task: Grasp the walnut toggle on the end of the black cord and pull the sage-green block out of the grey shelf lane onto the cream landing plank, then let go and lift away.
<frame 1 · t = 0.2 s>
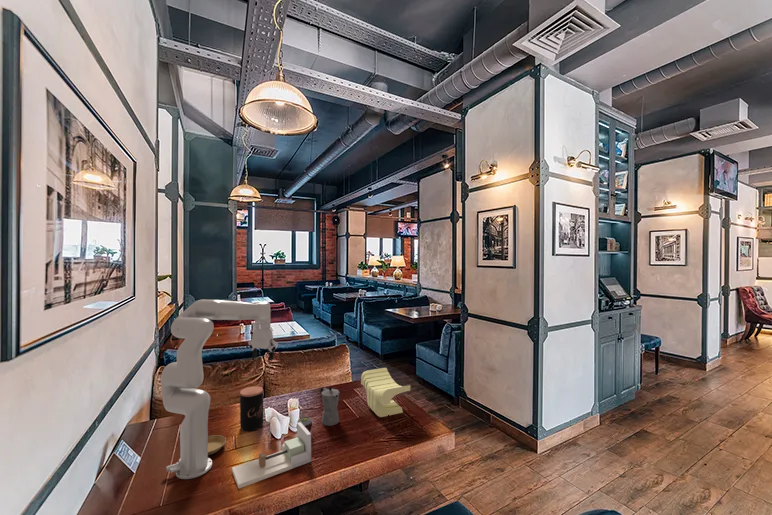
hand: (263, 358, 177), 31 cm above the table, tool pointing down, fingers open, 9 cm apart
plant saucer: (207, 450, 147), on the table, touching arm
cord block: (281, 453, 138), point 4 cm above the table, slide at 0.0 cm
mate gourd: (304, 436, 158), on the table
coffee jar: (251, 426, 167), on the table
coffeepot: (329, 421, 173), on the table
slatted curved stool: (384, 410, 185), on the table
shelf lane: (272, 466, 136), on the table
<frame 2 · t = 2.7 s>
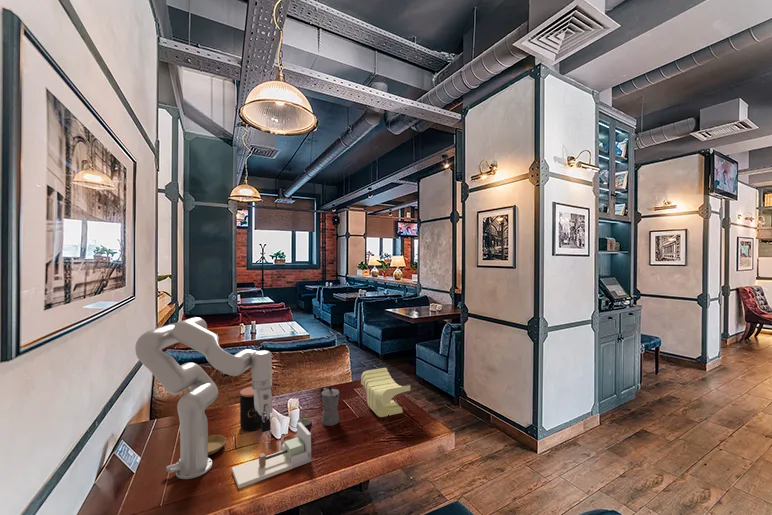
hand: (262, 425, 133), 18 cm above the table, tool pointing down, fingers open, 9 cm apart
nothing on the table moved.
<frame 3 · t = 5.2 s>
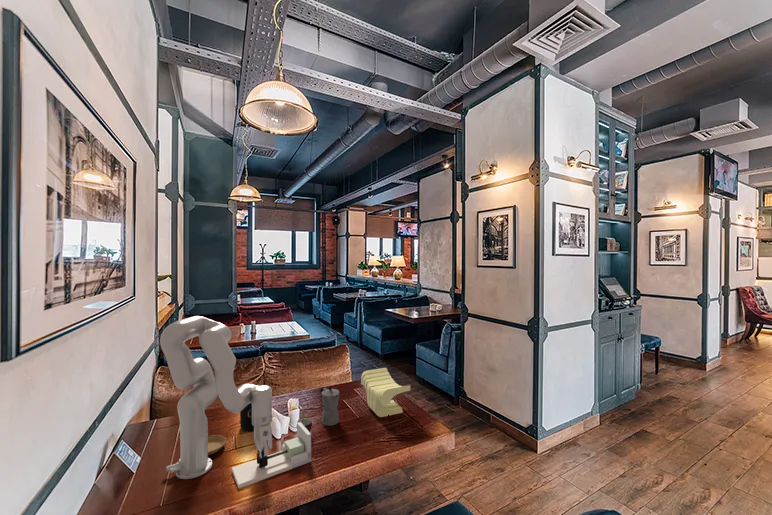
hand: (262, 464, 133), 2 cm above the table, tool pointing down, fingers closed on cord block, 2 cm apart
cord block: (281, 453, 138), point 4 cm above the table, slide at 0.0 cm, touching gripper
everything else where it was.
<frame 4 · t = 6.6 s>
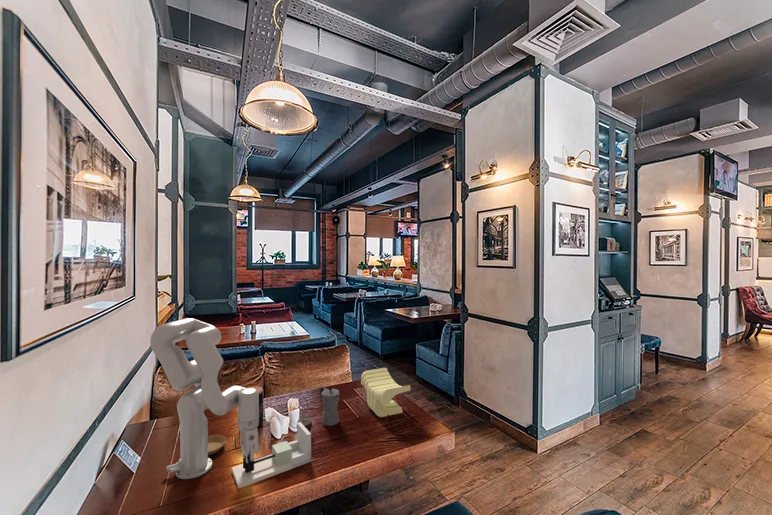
hand: (248, 468, 130), 2 cm above the table, tool pointing down, fingers closed on cord block, 2 cm apart
cord block: (268, 457, 135), point 4 cm above the table, slide at 5.2 cm, touching gripper
everything else where it was.
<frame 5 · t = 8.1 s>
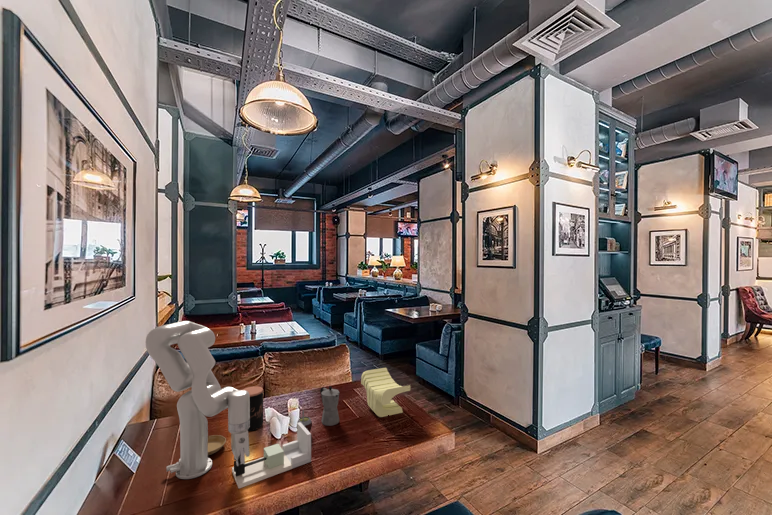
hand: (239, 472, 129), 2 cm above the table, tool pointing down, fingers closed on cord block, 2 cm apart
cord block: (259, 460, 133), point 4 cm above the table, slide at 8.5 cm, touching gripper
everything else where it was.
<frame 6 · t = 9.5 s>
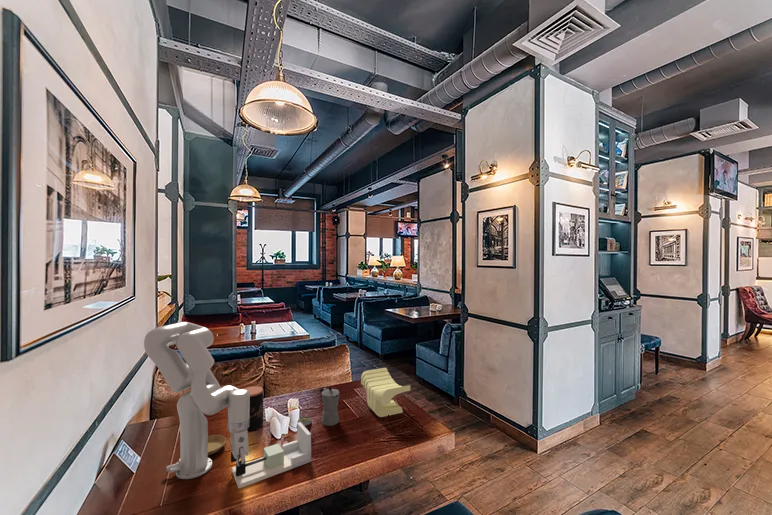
hand: (238, 467, 129), 4 cm above the table, tool pointing down, fingers open, 9 cm apart
cord block: (259, 460, 133), point 4 cm above the table, slide at 8.5 cm
everything else where it was.
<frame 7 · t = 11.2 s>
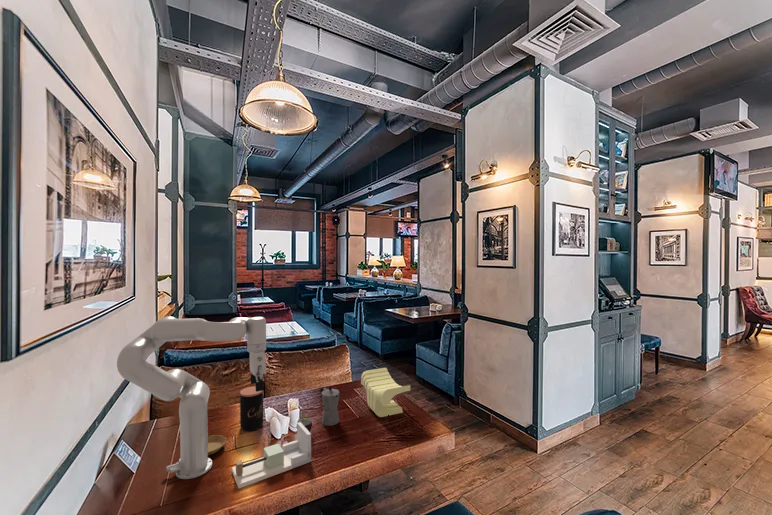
hand: (257, 386, 142), 29 cm above the table, tool pointing down, fingers open, 9 cm apart
nothing on the table moved.
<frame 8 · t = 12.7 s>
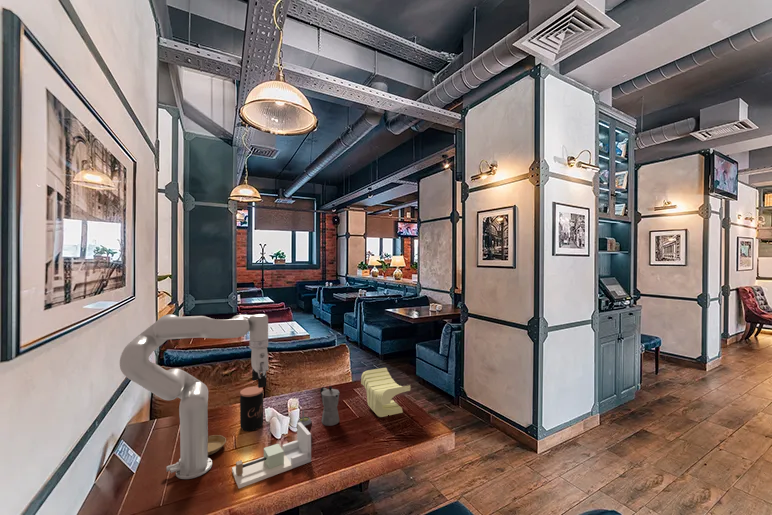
hand: (259, 383, 144), 30 cm above the table, tool pointing down, fingers open, 9 cm apart
nothing on the table moved.
at the end: cord block slide at 8.5 cm; the gripper is holding nothing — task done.
